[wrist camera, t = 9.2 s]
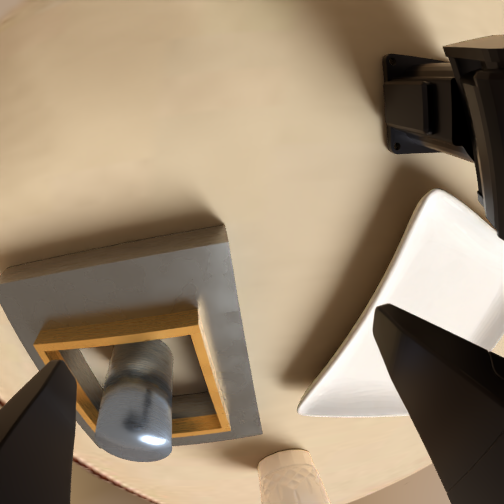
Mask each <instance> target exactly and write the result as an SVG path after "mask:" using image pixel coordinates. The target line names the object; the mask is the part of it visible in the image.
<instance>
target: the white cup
mask: <svg viewBox="0 0 504 504" xmlns="http://www.w3.org/2000/svg"><path fill="white" fill-rule="evenodd" d="M257 468H258V475H259V481H260V492H261V502H262V504H331V502H330V500H329V497H328V495H327V492H326V490H325V487H324V485H323V482H322V480H321V478H320V476H319V473H318V471H317V470H316V468H315V466H314V463H313V460H312V458H311V456H310V454H309V452H307V451H304V450H301V449H299V450H286V451H281V452H277V453H274V454H272V455H269V456H267V457H265V458H264V459H263V460H261V461H260V462H259V465H258V467H257Z"/></svg>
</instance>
